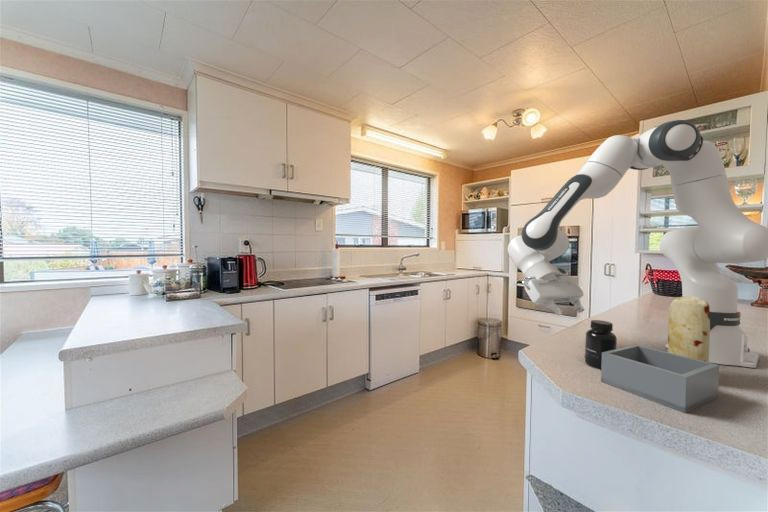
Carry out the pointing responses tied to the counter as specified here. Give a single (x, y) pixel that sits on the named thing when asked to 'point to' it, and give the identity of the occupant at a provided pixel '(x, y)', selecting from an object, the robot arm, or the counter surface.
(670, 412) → the counter surface
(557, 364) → the counter surface
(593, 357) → the supplement bottle
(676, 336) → the food model
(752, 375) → the counter surface
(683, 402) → the bin
